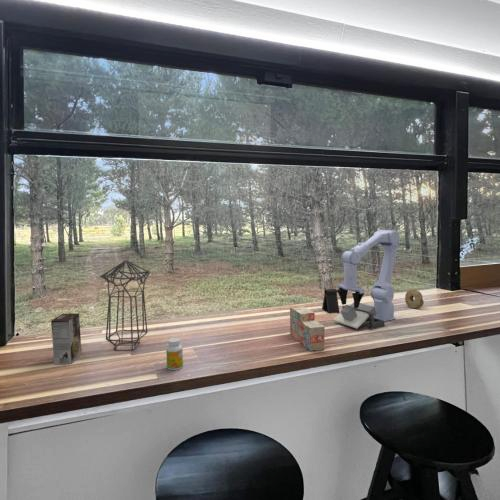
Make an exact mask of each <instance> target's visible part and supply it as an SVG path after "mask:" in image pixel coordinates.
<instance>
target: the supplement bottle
mask: <svg viewBox="0 0 500 500" xmlns="http://www.w3.org/2000/svg"><path fill="white" fill-rule="evenodd" d="M167 344H168V345H167V346H166V351H165V352H166V368H167V369H168V370H170V371H177V370H181V369H182V368H183V366H184V361H183V360H184V359H183V358H184V357H183V353H184V352H183V345H182V344H181V338H179V337H171V338H169V339H168V340H167Z"/></svg>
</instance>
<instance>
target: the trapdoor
mask: <svg viewBox="0 0 500 500" xmlns="http://www.w3.org/2000/svg"><path fill="white" fill-rule="evenodd" d="M349 306H352V307H354V302H353V303H351V304H350V305H349ZM354 309H355V310H356V311H360V312H364V313H367V314H371V313H373V314H374V316H375V315H376V314H377V312H376V309H375V307H374V305H370V304H365V303H361V302H360V304H359V308H354ZM360 312H356V314H357V316H356V317H355V318H354V319H353V320H352V321H348V320H345V319H344V318H343V316H342V314H341V312H339V313H338V314H337V316H336V317H334V319H333V321H334V322H336V323H339V324H342V325H345V326H347V327H350V328H353V329H356V330H358V328H360V327H361V326H362V325H363V323H365V322H366V321H365V320H366V319H367V318H369V315H367V314H363V313H360Z"/></svg>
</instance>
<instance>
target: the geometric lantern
mask: <svg viewBox="0 0 500 500" xmlns="http://www.w3.org/2000/svg"><path fill="white" fill-rule="evenodd" d="M126 265H127V269H128V271H125V267H126ZM139 269H140V270H143V271H140V270H139ZM118 274H120V277H117V275H118ZM126 274H128V275H130V276H128V275H126ZM150 274H151V271H149V270H147V269H145V268H144V267H141V266H139V265H137V264H136V263H133V262H132V261H129V260H123V261H121V262H120V263H119V264H117V265H115V266H114V267H113V268H111V269H109V270H108V271H106V272H104V273H103V274H101V275H99V278H101V279H104V281H106V282H107V294H108V295H107V296H108V304H107V318H106V330H105V331H106V332H105V340H106V342H109V344H111V345H113V349H112V350H113V351H114V352H115V351H117V352H118V351H120V352H121V351H122V352H123V351H134V350H136V349H137V347H138V346H139V345H140V343H141V339H142V338H143V337H144V336H146V335H147V334H148V324H147V323H148V321H147V312H146V301H145V286H146V285H145V284H146V281H147V279H148V278H149V277H150ZM136 275H137V276H136ZM123 276H124V277H123ZM109 278H110V279H109ZM143 279H144V280H143ZM115 280H119V282H120V284H119V283H118V284H116V283H115ZM122 280H127V281H125V282H124V283H122ZM132 281H136V282H137V284H138V287H137V290H131V293H133V292H134V293H135V294H134V295H131V294H130V292H129V290H127V286H128V284H129V283H131V282H132ZM139 282H140V283H139ZM110 284H112V285H113V289H112V290H111V291H110ZM141 285H142V287H141ZM119 287H123V288H122V290H120V289H119ZM115 288H116V289H117V290H115ZM139 289H140V290H139ZM114 290H115V291H114ZM121 292H122V296H120V293H121ZM125 292H126V293H127V295H128V296H127V295H126V296H125ZM137 292H141V293H139V294H137ZM116 293H117V295H113V294H116ZM140 295H141V306H142V307H141V312H142V315H141V316H142V329H139V316H138V315H139V314H138V302H137V297H138V296H140ZM112 298H117V302H116V303H117V305H116V306H117V308H116V309H117V310H116V326H115V331H114V332H113V333H111V317H112V316H111V314H112V313H111V312H112V310H111V307H112ZM120 298H122V303H121V304H122V305H121V307H122V314H121V315H122V319H121V321H122V323H121V329H119V330H118V325H119V309H120V308H119V306H120ZM125 298H130V299H129V301H130V302H129V303H130V304H129V305H130V329H124V325H125V324H124V323H125V321H124V320H125V317H124V315H125V308H124V307H125ZM132 298H134V306H135V318H136V329H133V305H132V304H133V303H132V302H133V301H132V300H133V299H132ZM118 332H121V337H120V335H119V333H118ZM123 332H130V335H131V336H130V337H123ZM134 332H137V337H133V336H134V335H133V333H134ZM143 332H144V333H143ZM113 335H117V337H118V339H111V337H113ZM126 339H127V340H126ZM130 339H131V340H130ZM114 342H115V343H114ZM117 343H118V344H117ZM136 344H137V345H136ZM118 346H120V347H121V346H123V347H124V346H125V347H126V346H127V347H129V346H130V347H131V349H130V348H129V349H117V348H118Z"/></svg>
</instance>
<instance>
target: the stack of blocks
mask: <svg viewBox="0 0 500 500" xmlns="http://www.w3.org/2000/svg"><path fill="white" fill-rule="evenodd" d="M289 322H290V323H289V324H290V325H289V328H290V329H289V330H290V333H289V334H290V335H291V336H292V337H293V338H295V340H296V341H298V343H300V344H301V345H303V346H304V348H305V349H307V350H308V351H310V352H312V351H313V350H316V351H323V350H322V349H324V350H325V333H326V331H325V328H326V327H325V326H324V325H323V324H322V323H321V322H318V321H317V320H316V318H315V311H313V310H311V309H309V308H307V307H306V306H304V305H296V306H290V307H289Z"/></svg>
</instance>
